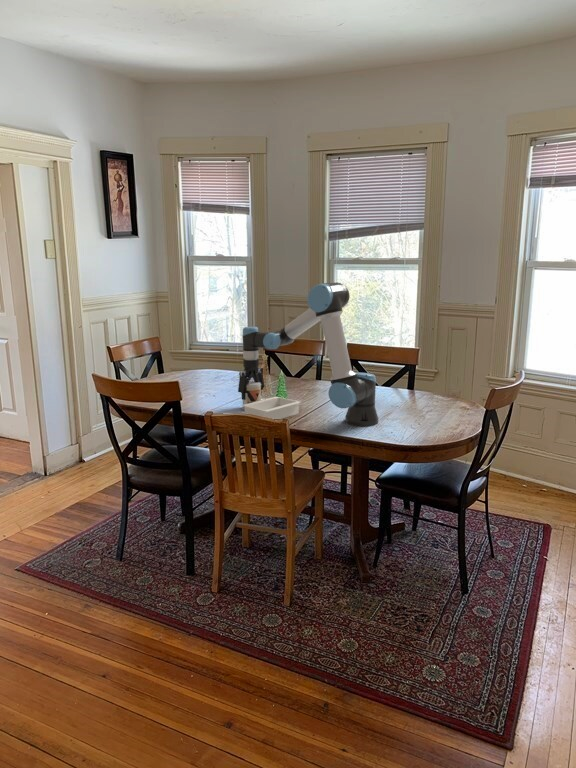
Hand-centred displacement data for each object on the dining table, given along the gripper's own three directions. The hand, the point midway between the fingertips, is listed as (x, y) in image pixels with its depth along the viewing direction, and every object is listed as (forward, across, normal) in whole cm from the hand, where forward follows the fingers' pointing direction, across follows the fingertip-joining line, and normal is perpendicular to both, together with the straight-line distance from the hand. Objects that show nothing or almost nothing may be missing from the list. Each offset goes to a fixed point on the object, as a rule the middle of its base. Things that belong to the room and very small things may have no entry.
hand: (251, 404), depth 283 cm
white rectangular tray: (+3, +2, +16) cm, 16 cm away
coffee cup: (+2, 0, 0) cm, 2 cm away
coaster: (+3, 0, 0) cm, 3 cm away
